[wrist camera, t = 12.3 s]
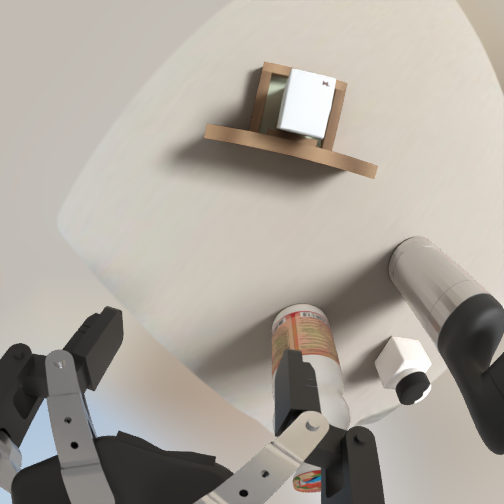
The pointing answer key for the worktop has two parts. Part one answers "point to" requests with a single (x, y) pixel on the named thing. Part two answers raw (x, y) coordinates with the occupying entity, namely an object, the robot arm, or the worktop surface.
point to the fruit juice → (326, 368)
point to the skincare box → (306, 103)
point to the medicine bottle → (404, 369)
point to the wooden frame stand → (285, 142)
